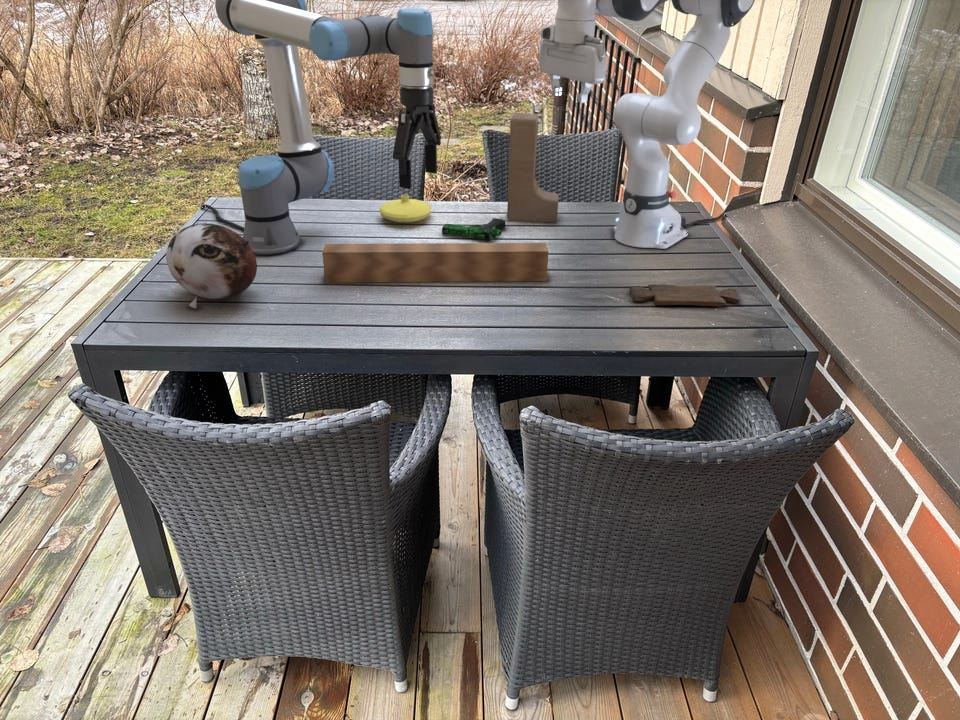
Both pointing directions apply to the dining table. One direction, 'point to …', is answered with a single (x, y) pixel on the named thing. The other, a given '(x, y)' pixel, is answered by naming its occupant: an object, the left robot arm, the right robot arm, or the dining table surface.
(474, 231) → the handgun
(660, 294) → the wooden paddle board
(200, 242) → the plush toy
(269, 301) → the dining table surface
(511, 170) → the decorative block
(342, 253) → the bar
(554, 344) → the dining table surface
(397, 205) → the yellow knobbed lid
